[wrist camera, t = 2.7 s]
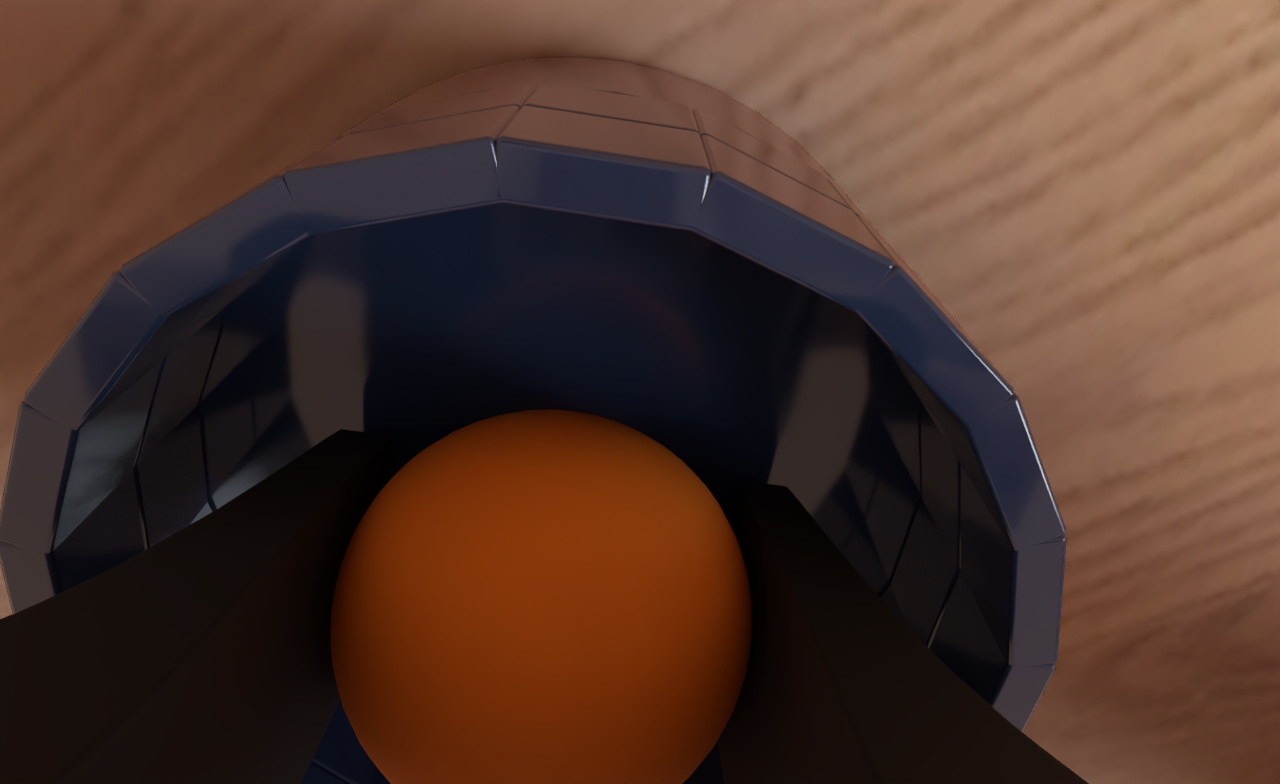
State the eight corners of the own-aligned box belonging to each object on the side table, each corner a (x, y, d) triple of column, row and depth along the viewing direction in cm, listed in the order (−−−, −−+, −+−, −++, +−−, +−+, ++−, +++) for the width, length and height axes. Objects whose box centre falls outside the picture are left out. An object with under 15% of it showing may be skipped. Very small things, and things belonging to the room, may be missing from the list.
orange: (764, 370, 10) (837, 625, 6) (699, 641, 12) (724, 962, 8) (398, 320, 10) (240, 555, 6) (392, 606, 12) (270, 921, 8)
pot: (986, 118, 12) (1268, 252, 6) (811, 659, 16) (892, 998, 11) (237, -2, 11) (-134, 40, 6) (275, 597, 16) (86, 925, 10)
